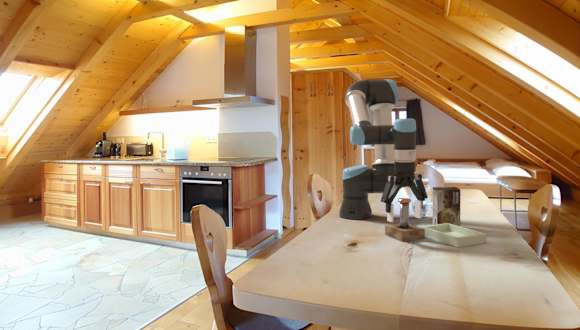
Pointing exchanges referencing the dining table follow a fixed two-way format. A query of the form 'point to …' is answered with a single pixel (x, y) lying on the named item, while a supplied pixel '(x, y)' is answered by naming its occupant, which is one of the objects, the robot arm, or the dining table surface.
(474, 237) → the tray
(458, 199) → the coffee box
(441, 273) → the dining table surface
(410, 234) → the socket block
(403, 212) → the pin
